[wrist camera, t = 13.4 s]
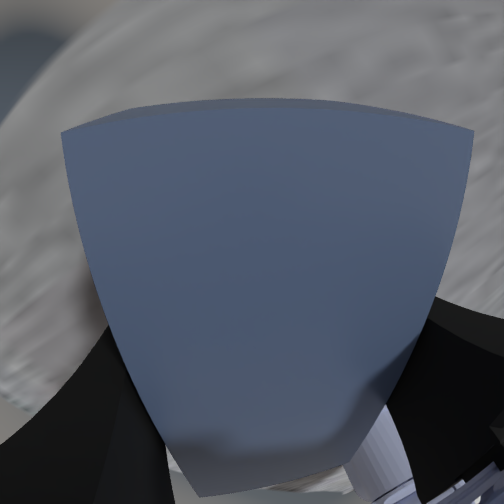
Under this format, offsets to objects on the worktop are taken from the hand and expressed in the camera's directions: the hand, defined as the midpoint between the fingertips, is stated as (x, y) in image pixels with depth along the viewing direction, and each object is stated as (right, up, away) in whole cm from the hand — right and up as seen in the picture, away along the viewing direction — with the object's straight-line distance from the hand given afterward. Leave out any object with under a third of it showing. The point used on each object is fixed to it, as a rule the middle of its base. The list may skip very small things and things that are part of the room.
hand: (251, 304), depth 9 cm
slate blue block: (0, +1, +1) cm, 2 cm away
